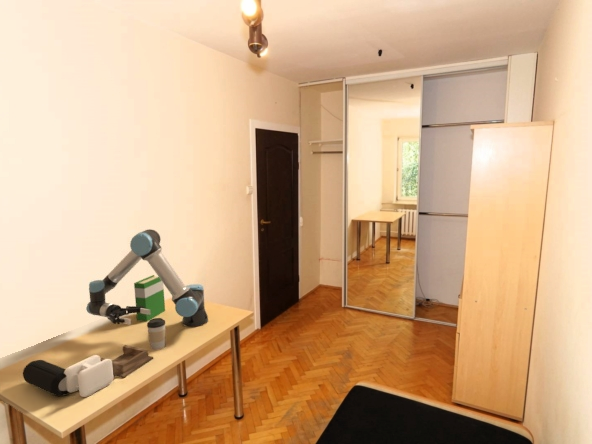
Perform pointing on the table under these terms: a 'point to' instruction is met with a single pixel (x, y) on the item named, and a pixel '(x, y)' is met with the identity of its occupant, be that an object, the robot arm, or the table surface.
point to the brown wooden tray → (129, 361)
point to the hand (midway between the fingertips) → (140, 316)
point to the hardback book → (149, 297)
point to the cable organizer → (89, 375)
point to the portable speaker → (46, 377)
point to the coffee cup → (156, 333)
